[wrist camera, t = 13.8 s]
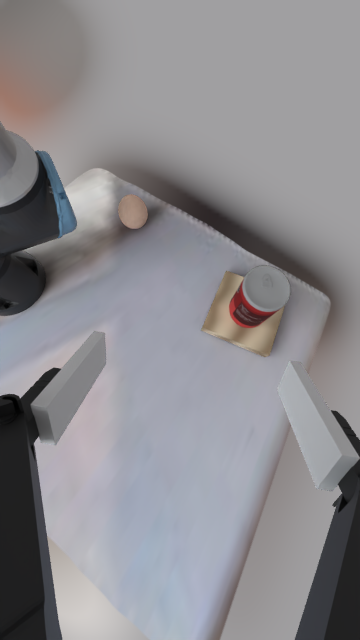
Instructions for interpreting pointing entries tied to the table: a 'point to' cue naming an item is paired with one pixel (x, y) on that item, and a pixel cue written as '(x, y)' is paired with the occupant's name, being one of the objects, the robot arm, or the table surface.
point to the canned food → (259, 296)
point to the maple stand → (228, 330)
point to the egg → (132, 211)
